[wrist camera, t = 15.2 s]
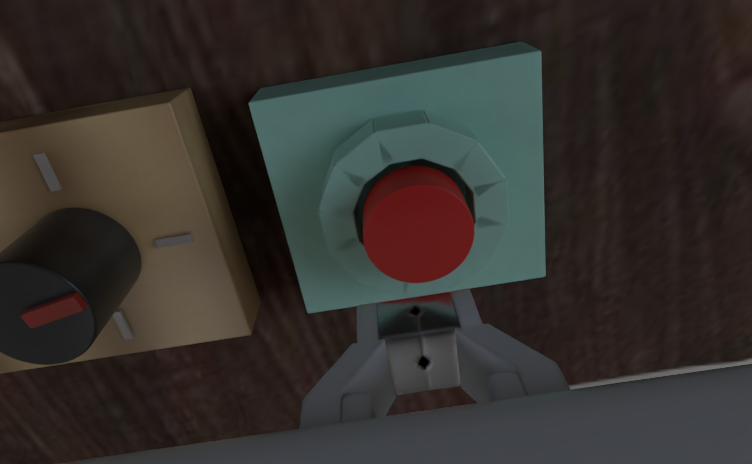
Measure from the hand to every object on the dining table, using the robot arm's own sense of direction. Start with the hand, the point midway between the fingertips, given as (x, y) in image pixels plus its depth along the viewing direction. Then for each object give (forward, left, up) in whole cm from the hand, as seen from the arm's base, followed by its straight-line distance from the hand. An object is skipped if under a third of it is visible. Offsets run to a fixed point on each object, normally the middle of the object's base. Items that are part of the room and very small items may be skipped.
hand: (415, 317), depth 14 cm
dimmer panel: (-13, +1, -9) cm, 16 cm away
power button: (+1, 0, -5) cm, 5 cm away
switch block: (+1, +1, -9) cm, 9 cm away
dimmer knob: (-12, 0, -6) cm, 14 cm away
